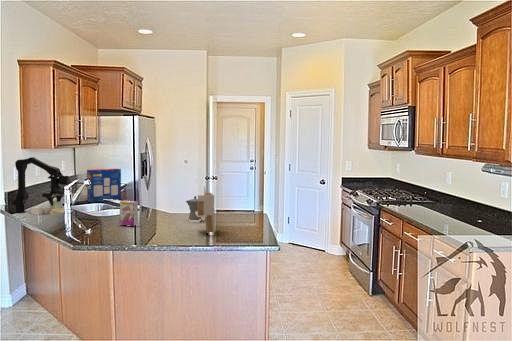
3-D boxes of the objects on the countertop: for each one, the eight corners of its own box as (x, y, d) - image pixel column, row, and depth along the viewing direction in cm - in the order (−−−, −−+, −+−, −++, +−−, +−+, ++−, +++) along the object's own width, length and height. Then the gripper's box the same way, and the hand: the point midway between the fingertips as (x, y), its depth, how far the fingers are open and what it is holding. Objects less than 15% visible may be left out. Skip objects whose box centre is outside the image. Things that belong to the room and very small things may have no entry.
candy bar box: (119, 225, 280) (119, 201, 279) (124, 224, 285) (123, 200, 284) (133, 227, 277) (133, 202, 275) (138, 226, 282) (138, 201, 280)
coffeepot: (186, 223, 294) (186, 197, 292) (184, 220, 303) (184, 195, 301) (208, 222, 298) (208, 196, 297) (206, 219, 307) (206, 195, 306)
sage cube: (50, 208, 317) (50, 202, 317) (55, 207, 322) (55, 201, 322) (55, 209, 316) (55, 202, 315) (60, 208, 320) (60, 201, 320)
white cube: (31, 214, 314) (31, 207, 313) (36, 213, 319) (36, 206, 318) (36, 214, 312) (36, 208, 312) (41, 213, 317) (41, 206, 316)
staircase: (198, 236, 257) (198, 189, 255) (194, 230, 273) (195, 186, 271) (214, 236, 260) (215, 189, 257) (210, 230, 276) (210, 185, 273)
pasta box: (116, 198, 398) (116, 168, 396) (121, 199, 393) (120, 169, 390) (87, 201, 379) (87, 169, 376) (91, 202, 373) (91, 170, 371)
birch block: (44, 214, 317) (44, 208, 316) (56, 212, 326) (56, 206, 325) (54, 215, 312) (54, 210, 312) (65, 213, 321) (65, 208, 321)
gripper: (52, 186, 306) (53, 208, 307) (72, 184, 323) (73, 204, 324) (41, 185, 310) (41, 206, 311) (61, 183, 327) (61, 203, 328)
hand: (55, 205), depth 319 cm, fingers open, 6 cm apart
